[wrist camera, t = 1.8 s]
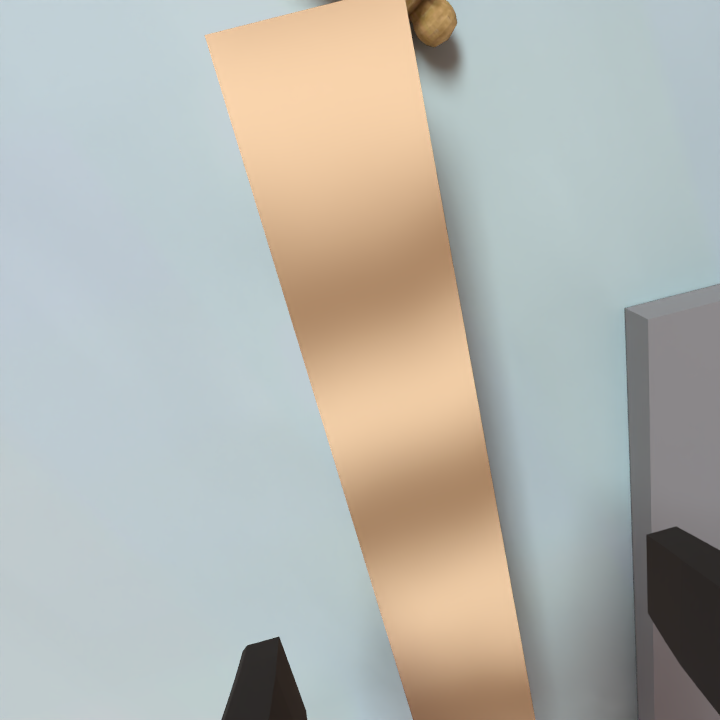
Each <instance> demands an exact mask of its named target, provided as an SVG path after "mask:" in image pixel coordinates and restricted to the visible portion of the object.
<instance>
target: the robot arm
mask: <svg viewBox="0 0 720 720" xmlns="http://www.w3.org/2000/svg"><path fill="white" fill-rule="evenodd" d="M646 549H647V603H648V614H649V616H650V618H651V619H652V621H653V623H654V624H655V626H656V628H657V629H658V631H659V632H660V634H661V636H662V637H663V639H664V641H665V642H666V644H667V645H668V647H669V648H670V650H671V651H672V653H673V655H674V656H675V658H676V659H677V661H678V662H679V664H680V665H681V667H682V668H683V669H684V671H685V672H686V673H687V674H688V676H689V677H690V678H691V680H692V681H693V682H694V683H695V685H696V686H697V687H698V689H699V690H700V691H701V692H702V694H703V695H704V696H705V697H706V699H707V700H708V701H709V703H710V704H711V705H712V706H713V708H714V709H715V710H716V711H717V713H718V714H719V715H720V550H719V549H717V548H715V547H713V546H711V545H710V544H708V543H706V542H704V541H702V540H701V539H699V538H697V537H695V536H693V535H691V534H690V533H688V532H686V531H684V530H682V529H680V528H678V527H677V526H676V527H672V528H668V529H665V530H661V531H658V532H654V533H650V534H647V535H646ZM222 720H307V715H306V709H305V707H304V704H303V701H302V698H301V696H300V693H299V690H298V687H297V685H296V682H295V679H294V676H293V674H292V671H291V668H290V665H289V663H288V660H287V657H286V654H285V651H284V649H283V646H282V643H281V640H280V638H279V637H276V638H273V639H269V640H265V641H262V642H258V643H255V644H251V645H247V646H246V648H245V649H244V651H243V652H242V656H241V660H240V663H239V667H238V670H237V673H236V677H235V680H234V683H233V687H232V690H231V693H230V696H229V699H228V702H227V705H226V708H225V711H224V714H223V717H222Z"/></svg>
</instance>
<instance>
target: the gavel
mask: <svg viewBox="0 0 720 720" xmlns="http://www.w3.org/2000/svg"><path fill="white" fill-rule="evenodd" d="M405 2H406V7H407V13H408V18H409V20H410V21H411V22H412V23H413V27H414V31H415V33H416V35H417V37H418V38H419V39H420V40H421V42H423V43H424V44H426V45H427V46H431V47H437V46H438V45H440V44H442V43H443V42H445V41H446V40H448V39H449V38H450V36H451V34H452V32H453V30H454V28H455V27H456V25H457V19H456V14H455V12H454V9H453V7H452V6H451V5H450V4H449V2H447V1H446V0H405Z"/></svg>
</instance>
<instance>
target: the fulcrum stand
mask: <svg viewBox="0 0 720 720" xmlns="http://www.w3.org/2000/svg"><path fill="white" fill-rule="evenodd" d="M625 324H626V354H627V385H628V416H629V447H630V478H631V509H632V540H633V571H634V601H635V632H636V663H637V694H638V720H720V715H719V714H718V713H717V711H716V710H715V709H714V708H713V706H712V705H711V704H710V703H709V701H708V700H707V699H706V697H705V696H704V695H703V694H702V692H701V691H700V690H699V689H698V687H697V686H696V685H695V683H694V682H693V681H692V680H691V678H690V677H689V676H688V674H687V673H686V672H685V671H684V669H683V668H682V667H681V665H680V664H679V662H678V661H677V659H676V658H675V656H674V655H673V653H672V651H671V650H670V648H669V647H668V645H667V644H666V642H665V641H664V639H663V637H662V636H661V634H660V632H659V631H658V629H657V628H656V626H655V624H654V623H653V621H652V619H651V618H650V616H649V614H648V603H647V549H646V535H647V534H650V533H654V532H658V531H661V530H665V529H668V528H672V527H676V526H677V527H678V528H680V529H682V530H684V531H686V532H688V533H690V534H691V535H693V536H695V537H697V538H699V539H701V540H702V541H704V542H706V543H708V544H710V545H711V546H713V547H715V548H717V549H719V550H720V284H717V285H714V286H710V287H706V288H702V289H698V290H694V291H690V292H686V293H682V294H678V295H674V296H670V297H666V298H663V299H659V300H655V301H651V302H647V303H643V304H639V305H635V306H631V307H627V308H625Z"/></svg>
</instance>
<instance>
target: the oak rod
mask: <svg viewBox="0 0 720 720" xmlns="http://www.w3.org/2000/svg"><path fill="white" fill-rule="evenodd" d="M205 38H206V41H207V44H208V48H209V51H210V54H211V58H212V61H213V64H214V67H215V71H216V74H217V77H218V81H219V84H220V87H221V90H222V94H223V97H224V100H225V104H226V107H227V110H228V113H229V117H230V120H231V123H232V126H233V130H234V133H235V136H236V140H237V143H238V146H239V149H240V153H241V156H242V159H243V163H244V166H245V169H246V172H247V176H248V179H249V182H250V186H251V189H252V192H253V195H254V199H255V202H256V205H257V209H258V212H259V215H260V218H261V222H262V225H263V228H264V232H265V235H266V238H267V241H268V245H269V248H270V251H271V254H272V258H273V261H274V264H275V268H276V271H277V274H278V277H279V281H280V284H281V287H282V291H283V294H284V297H285V300H286V304H287V307H288V310H289V314H290V317H291V320H292V323H293V327H294V330H295V333H296V337H297V340H298V343H299V346H300V350H301V353H302V356H303V360H304V363H305V366H306V369H307V373H308V376H309V379H310V383H311V386H312V389H313V392H314V396H315V399H316V402H317V405H318V409H319V412H320V415H321V419H322V422H323V425H324V428H325V432H326V435H327V438H328V442H329V445H330V448H331V451H332V455H333V458H334V461H335V465H336V468H337V471H338V474H339V478H340V481H341V484H342V488H343V491H344V494H345V497H346V501H347V504H348V507H349V511H350V514H351V517H352V520H353V524H354V527H355V530H356V533H357V537H358V540H359V543H360V547H361V550H362V553H363V556H364V560H365V563H366V566H367V570H368V573H369V576H370V579H371V583H372V586H373V589H374V593H375V596H376V599H377V602H378V606H379V609H380V612H381V616H382V619H383V622H384V625H385V629H386V632H387V635H388V639H389V642H390V645H391V648H392V652H393V655H394V658H395V661H396V665H397V668H398V671H399V675H400V678H401V681H402V684H403V688H404V691H405V694H406V698H407V701H408V704H409V707H410V711H411V714H412V717H413V720H535V715H534V710H533V704H532V699H531V693H530V688H529V682H528V676H527V671H526V665H525V660H524V654H523V649H522V643H521V638H520V632H519V627H518V621H517V616H516V610H515V605H514V599H513V593H512V588H511V582H510V577H509V571H508V566H507V560H506V555H505V549H504V544H503V538H502V533H501V527H500V522H499V516H498V510H497V505H496V499H495V494H494V488H493V483H492V477H491V472H490V466H489V461H488V455H487V450H486V444H485V439H484V433H483V428H482V422H481V416H480V411H479V405H478V400H477V394H476V389H475V383H474V378H473V372H472V367H471V361H470V356H469V350H468V345H467V339H466V333H465V328H464V322H463V317H462V311H461V306H460V300H459V295H458V289H457V284H456V278H455V273H454V267H453V262H452V256H451V250H450V245H449V239H448V234H447V228H446V223H445V217H444V212H443V206H442V201H441V195H440V190H439V184H438V179H437V173H436V167H435V162H434V156H433V151H432V145H431V140H430V134H429V129H428V123H427V118H426V112H425V107H424V101H423V96H422V90H421V85H420V79H419V73H418V68H417V62H416V57H415V51H414V46H413V40H412V35H411V29H410V24H409V18H408V13H407V7H406V2H405V0H342V1H338V2H334V3H330V4H326V5H322V6H318V7H314V8H310V9H306V10H302V11H299V12H295V13H291V14H287V15H283V16H279V17H275V18H271V19H267V20H263V21H259V22H255V23H251V24H247V25H243V26H239V27H235V28H231V29H227V30H224V31H220V32H216V33H212V34H208V35H205Z"/></svg>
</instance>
